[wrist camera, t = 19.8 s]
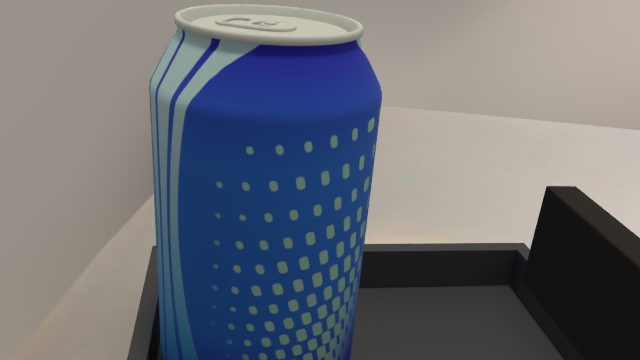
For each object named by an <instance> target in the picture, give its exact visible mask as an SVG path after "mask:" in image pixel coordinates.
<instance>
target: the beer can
mask: <svg viewBox="0 0 640 360" xmlns="http://www.w3.org/2000/svg"><path fill="white" fill-rule="evenodd" d="M174 20H175V24H176V25H177V31H176V33H175V35H174V36H173V38H172V40H171V42H170V43H169V45H168V47H167V48H166V50H165V52H164V53H163V55H162V57H161V59H160V61H159V62H158V64H157V65H156V67H155V69H154V71H153V73H152V75H151V78H150V87H149V88H150V113H151V135H152V158H153V181H154V204H155V227H156V250H157V273H158V295H159V318H160V341H161V360H350V357H351V348H352V340H353V332H354V323H355V315H356V307H357V299H358V290H359V282H360V274H361V266H362V257H363V249H364V241H365V232H366V224H367V216H368V208H369V199H370V191H371V183H372V175H373V166H374V158H375V150H376V142H377V133H378V125H379V117H380V108H381V100H382V92H381V88H380V84H379V82H378V80H377V78H376V75H375V73H374V71H373V69H372V67H371V65H370V62H369V60H368V58H367V56H366V54H365V51H364V49H363V47H362V45H361V43H360V37H362V35H363V26H362V24H360V23H359V22H358V21H355V20H353V19H350V18H348V17H345V16H341V15H337V14H333V13H328V12H323V11H317V10H310V9H303V8H295V7H284V6H272V5H252V4H221V5H220V4H219V5H204V6H196V7H190V8H187V9H183V10H180V11H178V12H177V13H176V14H175V18H174Z"/></svg>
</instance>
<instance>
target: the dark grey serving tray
mask: <svg viewBox="0 0 640 360" xmlns="http://www.w3.org/2000/svg"><path fill="white" fill-rule="evenodd" d="M529 252H530V249H529V248H528V247H527V246H526V245H525V244H524V243H457V244H364V249H363V257H362V266H361V274H360V282H359V290H358V299H357V307H356V315H355V323H354V332H353V340H352V348H351V357H350V360H584V359H583V358H582V357H581V355H580V354H579V353H578V352H577V350H576V349H575V348H574V347H573V345H572V344H571V343H570V341H569V340H568V339H567V338H566V336H565V335H564V334H563V333H562V331H561V330H560V329H559V328H558V326H557V325H556V324H555V322H554V321H553V320H552V319H551V317H550V316H549V315H548V314H547V312H546V311H545V310H544V308H543V307H542V306H541V305H540V303H539V302H538V301H537V300H536V298H535V297H534V296H533V295H532V293H531V292H530V291H529V289H528V288H527V287H526V286H525V284H524V283H523V282H522V279H523V276H524V272H525V268H526V264H527V260H528V256H529ZM127 360H161V341H160V318H159V295H158V273H157V250H156V246H153V247H152V252H151V256H150V261H149V265H148V270H147V274H146V279H145V283H144V287H143V292H142V296H141V301H140V305H139V310H138V314H137V319H136V323H135V328H134V332H133V336H132V341H131V345H130V350H129V354H128V359H127Z"/></svg>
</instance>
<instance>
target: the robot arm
mask: <svg viewBox="0 0 640 360" xmlns="http://www.w3.org/2000/svg"><path fill="white" fill-rule="evenodd" d="M522 282H523V283H524V284H525V286H526V287H527V288H528V289H529V291H530V292H531V293H532V295H533V296H534V297H535V298H536V300H537V301H538V302H539V303H540V305H541V306H542V307H543V308H544V310H545V311H546V312H547V314H548V315H549V316H550V317H551V319H552V320H553V321H554V322H555V324H556V325H557V326H558V328H559V329H560V330H561V331H562V333H563V334H564V335H565V336H566V338H567V339H568V340H569V341H570V343H571V344H572V345H573V347H574V348H575V349H576V350H577V352H578V353H579V354H580V355H581V357H582V358H583V359H584V360H640V238H639V237H638V236H636V235H635V234H634V233H633V232H631V231H630V230H629V229H628V228H626V227H625V226H624V225H623V224H622V223H620V222H619V221H618V220H617V219H615V218H614V217H613V216H612V215H610V214H609V213H608V212H607V211H605V210H604V209H603V208H602V207H600V206H599V205H598V204H597V203H595V202H594V201H593V200H592V199H590V198H589V197H588V196H587V195H585V194H584V193H583V192H582V191H580V190H579V189H578V188H577V187H571V186H547V187H546V191H545V194H544V198H543V202H542V206H541V210H540V214H539V218H538V222H537V225H536V229H535V233H534V237H533V241H532V245H531V249H530V252H529V256H528V260H527V264H526V268H525V272H524V276H523V279H522Z"/></svg>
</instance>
